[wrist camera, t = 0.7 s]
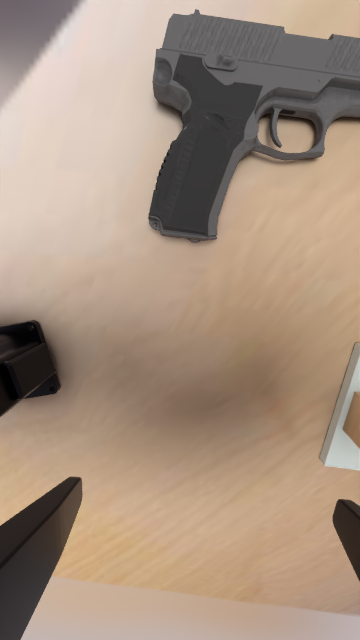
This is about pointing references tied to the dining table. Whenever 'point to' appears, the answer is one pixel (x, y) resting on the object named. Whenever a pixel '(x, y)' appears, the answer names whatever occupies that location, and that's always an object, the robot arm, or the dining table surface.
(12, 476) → the dining table surface
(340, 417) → the panel
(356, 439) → the brown wooden block
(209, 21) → the handgun
